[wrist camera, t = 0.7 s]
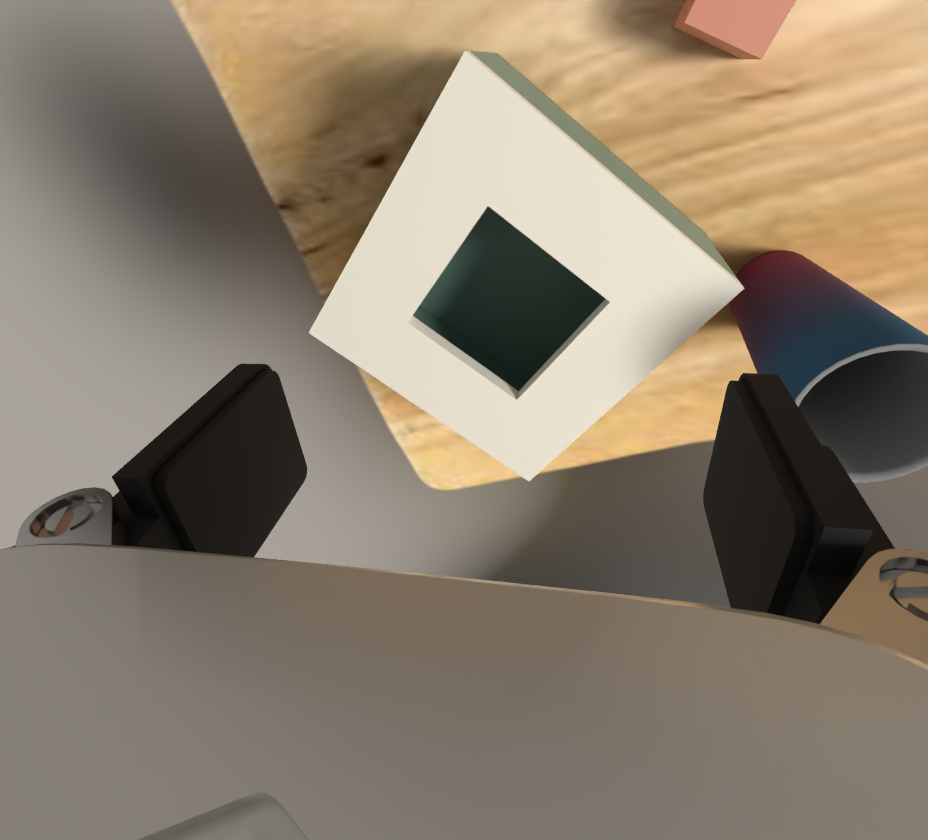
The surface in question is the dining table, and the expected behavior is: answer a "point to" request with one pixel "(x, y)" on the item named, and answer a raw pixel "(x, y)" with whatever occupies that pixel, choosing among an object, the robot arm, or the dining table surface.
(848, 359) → the cup
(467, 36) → the dining table surface
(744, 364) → the dining table surface
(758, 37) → the block
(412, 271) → the green and cream box
